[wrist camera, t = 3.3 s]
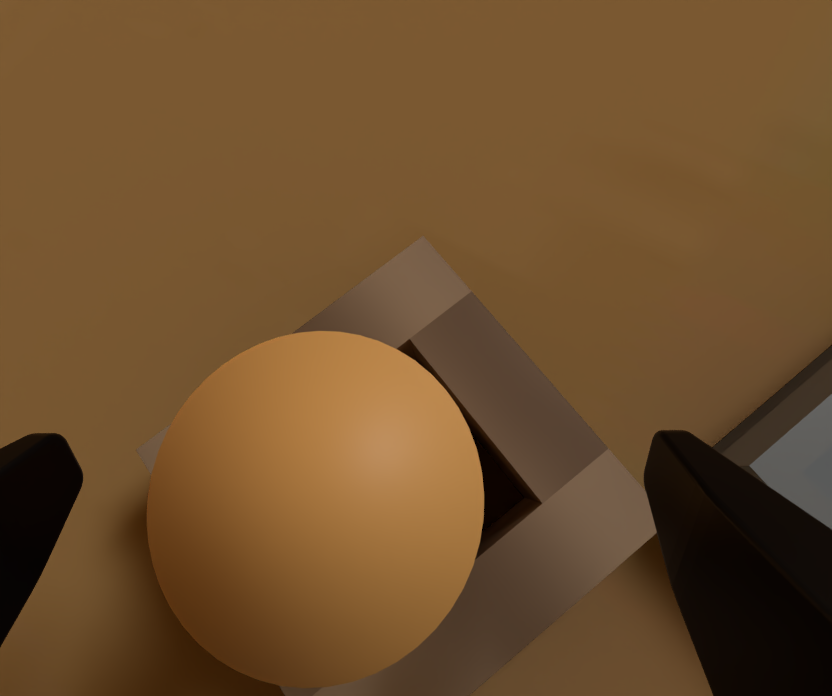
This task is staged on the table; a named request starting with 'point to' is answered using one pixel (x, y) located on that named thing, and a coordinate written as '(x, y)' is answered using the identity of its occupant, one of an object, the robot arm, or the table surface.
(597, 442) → the socket block
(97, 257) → the table surface
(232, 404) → the pin
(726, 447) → the tray
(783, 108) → the table surface
